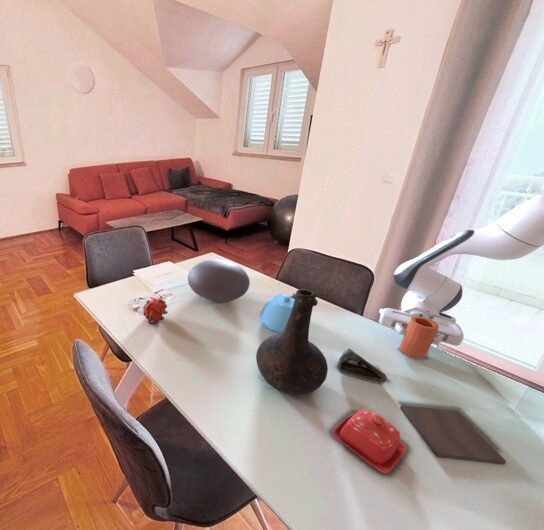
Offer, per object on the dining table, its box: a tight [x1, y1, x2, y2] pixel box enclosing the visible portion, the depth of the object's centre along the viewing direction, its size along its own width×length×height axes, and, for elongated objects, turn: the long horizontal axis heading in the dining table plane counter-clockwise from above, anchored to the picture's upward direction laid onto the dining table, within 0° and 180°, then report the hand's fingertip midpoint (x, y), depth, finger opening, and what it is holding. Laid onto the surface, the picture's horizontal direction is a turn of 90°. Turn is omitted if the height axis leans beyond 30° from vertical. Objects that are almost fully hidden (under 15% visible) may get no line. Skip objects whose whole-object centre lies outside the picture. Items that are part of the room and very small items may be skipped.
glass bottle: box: [255, 288, 329, 396], centre depth 82 cm, size 18×18×28 cm
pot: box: [398, 317, 439, 360], centre depth 95 cm, size 6×6×11 cm
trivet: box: [399, 404, 507, 465], centre depth 73 cm, size 13×13×1 cm
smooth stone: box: [187, 259, 251, 303], centre depth 129 cm, size 25×25×15 cm
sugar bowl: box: [259, 293, 295, 334], centre depth 111 cm, size 15×15×12 cm
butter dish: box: [332, 408, 407, 475], centre depth 69 cm, size 12×12×8 cm
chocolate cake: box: [337, 347, 388, 384], centre depth 92 cm, size 10×7×12 cm
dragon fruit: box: [142, 297, 169, 324], centre depth 115 cm, size 8×8×12 cm
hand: (419, 337), depth 94 cm, fingers closed on pot, 6 cm apart
